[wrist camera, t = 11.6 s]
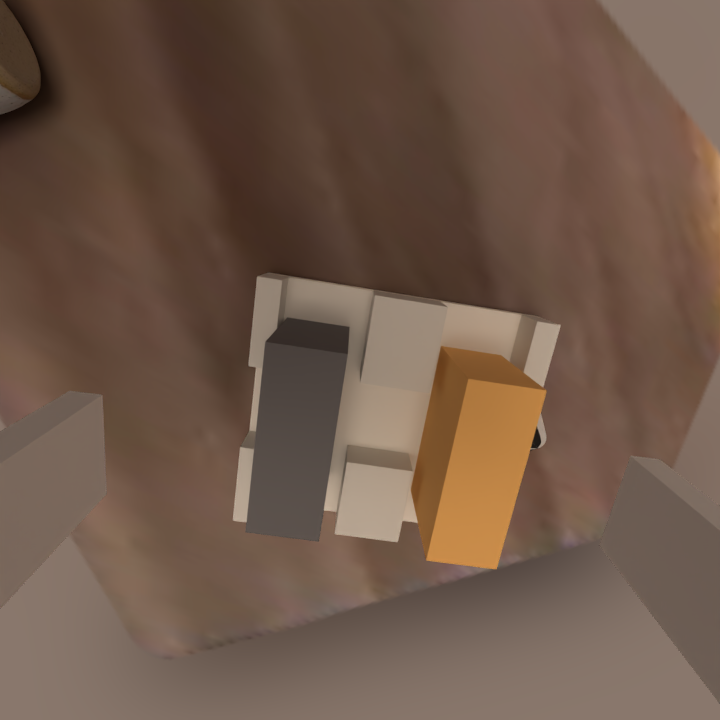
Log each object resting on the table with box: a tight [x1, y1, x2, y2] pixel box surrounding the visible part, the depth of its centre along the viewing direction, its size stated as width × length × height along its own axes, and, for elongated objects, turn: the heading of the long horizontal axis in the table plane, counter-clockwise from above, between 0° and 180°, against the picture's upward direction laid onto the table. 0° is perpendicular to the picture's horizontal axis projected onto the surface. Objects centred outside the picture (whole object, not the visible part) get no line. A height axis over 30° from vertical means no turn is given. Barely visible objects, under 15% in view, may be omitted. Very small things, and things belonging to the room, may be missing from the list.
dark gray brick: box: [246, 317, 350, 542], centre depth 29 cm, size 12×4×8 cm, turn 171°
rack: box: [233, 272, 561, 542], centre depth 32 cm, size 18×20×4 cm
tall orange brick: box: [411, 346, 547, 569], centre depth 30 cm, size 12×4×8 cm, turn 171°
